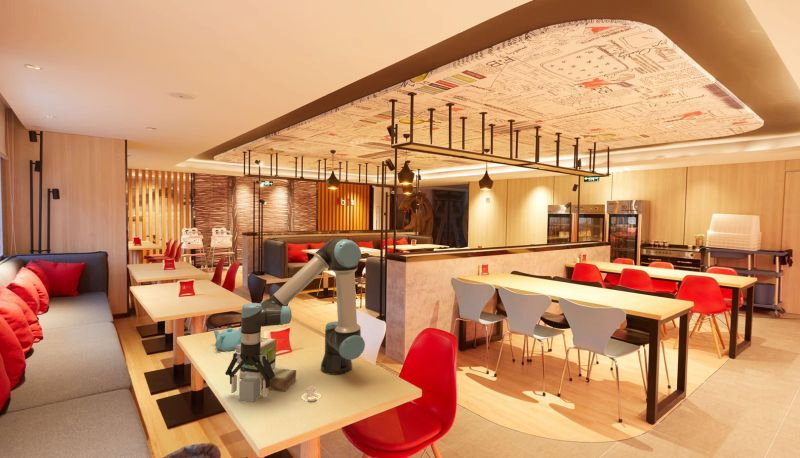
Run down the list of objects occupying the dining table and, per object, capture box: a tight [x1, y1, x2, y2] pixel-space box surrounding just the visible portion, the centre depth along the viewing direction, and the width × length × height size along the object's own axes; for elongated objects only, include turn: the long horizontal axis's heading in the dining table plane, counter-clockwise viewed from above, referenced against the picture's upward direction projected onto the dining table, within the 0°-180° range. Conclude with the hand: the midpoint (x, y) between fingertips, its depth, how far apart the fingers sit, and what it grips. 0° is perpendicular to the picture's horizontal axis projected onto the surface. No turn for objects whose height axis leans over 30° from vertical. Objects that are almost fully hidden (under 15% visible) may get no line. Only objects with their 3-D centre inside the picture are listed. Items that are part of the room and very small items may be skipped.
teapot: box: [213, 327, 242, 352], centre depth 222 cm, size 15×15×11 cm
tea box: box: [239, 337, 277, 379], centre depth 188 cm, size 15×10×15 cm, turn 168°
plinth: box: [261, 367, 297, 392], centre depth 177 cm, size 11×11×5 cm
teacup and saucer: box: [300, 386, 322, 402], centre depth 166 cm, size 9×8×4 cm
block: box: [238, 375, 262, 403], centre depth 163 cm, size 6×6×8 cm
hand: (249, 393), depth 163 cm, fingers open, 13 cm apart
